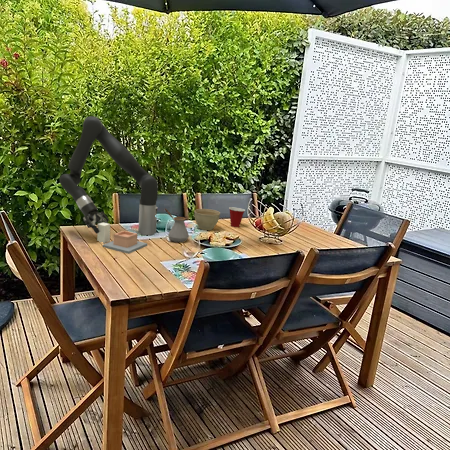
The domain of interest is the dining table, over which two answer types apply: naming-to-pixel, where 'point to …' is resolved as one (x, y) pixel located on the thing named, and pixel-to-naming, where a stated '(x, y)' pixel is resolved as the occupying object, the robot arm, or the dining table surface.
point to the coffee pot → (178, 229)
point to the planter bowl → (206, 218)
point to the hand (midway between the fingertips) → (103, 230)
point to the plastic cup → (236, 216)
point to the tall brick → (103, 232)
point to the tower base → (122, 249)
